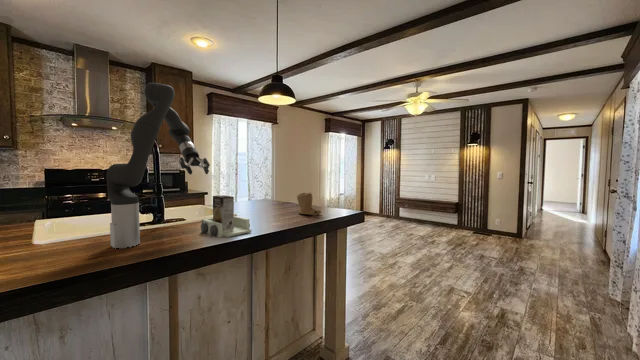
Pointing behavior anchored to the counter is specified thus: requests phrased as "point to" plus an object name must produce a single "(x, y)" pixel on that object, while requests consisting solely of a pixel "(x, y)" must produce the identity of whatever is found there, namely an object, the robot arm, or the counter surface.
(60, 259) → the counter surface
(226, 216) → the coffee box
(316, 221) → the counter surface
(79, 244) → the counter surface
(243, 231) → the cart bed
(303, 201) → the brown boot
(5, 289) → the counter surface
